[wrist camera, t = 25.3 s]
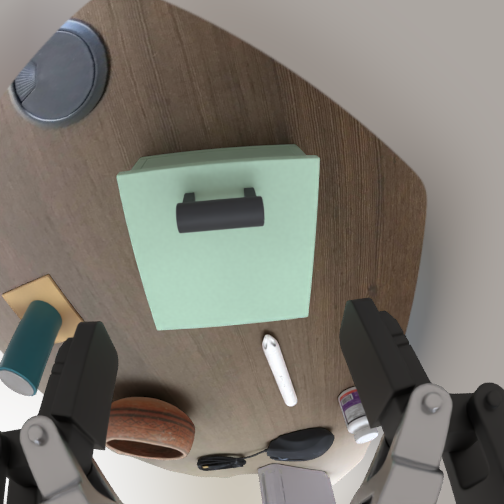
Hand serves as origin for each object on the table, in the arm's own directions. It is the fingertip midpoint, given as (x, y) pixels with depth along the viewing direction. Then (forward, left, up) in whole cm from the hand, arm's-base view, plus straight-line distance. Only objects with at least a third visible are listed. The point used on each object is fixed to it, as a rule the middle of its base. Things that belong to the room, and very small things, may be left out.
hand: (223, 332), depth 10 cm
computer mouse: (+61, -13, -20) cm, 66 cm away
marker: (+31, -2, -20) cm, 37 cm away
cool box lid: (+6, -1, -14) cm, 15 cm away
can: (+10, -28, -20) cm, 36 cm away
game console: (+87, -10, -21) cm, 90 cm away
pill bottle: (+46, +8, -20) cm, 51 cm away
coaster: (+10, -28, -20) cm, 36 cm away
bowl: (+33, -25, -21) cm, 46 cm away
